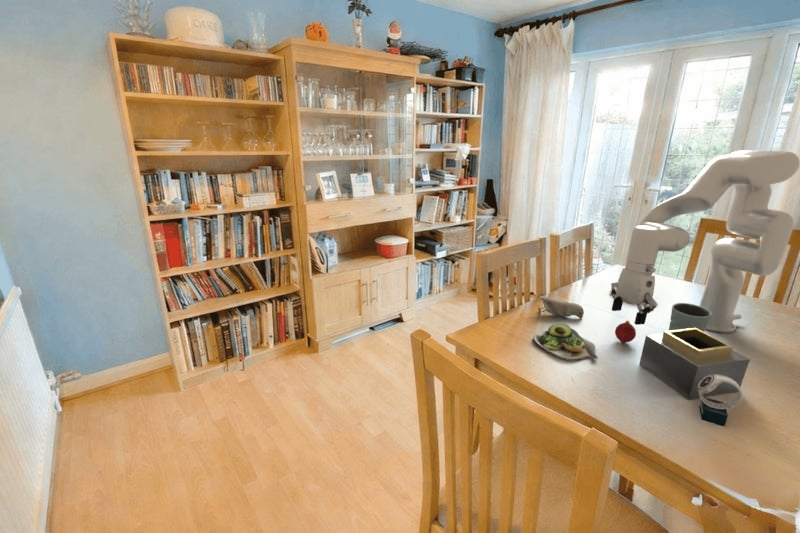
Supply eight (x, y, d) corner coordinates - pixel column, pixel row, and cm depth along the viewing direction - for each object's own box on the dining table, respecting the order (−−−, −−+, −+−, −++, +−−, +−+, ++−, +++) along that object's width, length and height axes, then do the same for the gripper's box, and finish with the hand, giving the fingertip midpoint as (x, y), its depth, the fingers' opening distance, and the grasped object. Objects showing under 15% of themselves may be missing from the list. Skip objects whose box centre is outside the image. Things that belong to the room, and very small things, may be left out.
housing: (684, 358, 114) (694, 322, 110) (738, 391, 99) (752, 351, 95) (639, 365, 111) (647, 327, 107) (688, 400, 96) (700, 358, 92)
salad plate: (614, 356, 116) (617, 343, 114) (572, 371, 109) (575, 357, 107) (564, 329, 132) (566, 317, 131) (525, 340, 125) (527, 328, 124)
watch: (689, 403, 95) (700, 366, 91) (730, 415, 91) (743, 377, 87) (691, 417, 90) (702, 378, 87) (734, 430, 86) (748, 390, 83)
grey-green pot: (695, 337, 126) (704, 305, 122) (707, 353, 117) (717, 318, 113) (660, 332, 129) (668, 301, 125) (669, 347, 120) (678, 313, 116)
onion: (636, 348, 120) (641, 325, 117) (616, 346, 121) (621, 324, 118) (629, 339, 125) (634, 317, 122) (610, 337, 126) (615, 316, 124)
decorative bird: (583, 322, 137) (586, 304, 134) (537, 317, 141) (539, 298, 139) (581, 316, 142) (584, 298, 139) (536, 311, 146) (538, 293, 144)
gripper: (674, 275, 107) (659, 328, 112) (628, 257, 123) (617, 305, 128) (652, 276, 105) (638, 330, 111) (608, 258, 121) (598, 306, 127)
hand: (627, 316), depth 120 cm, fingers open, 9 cm apart
